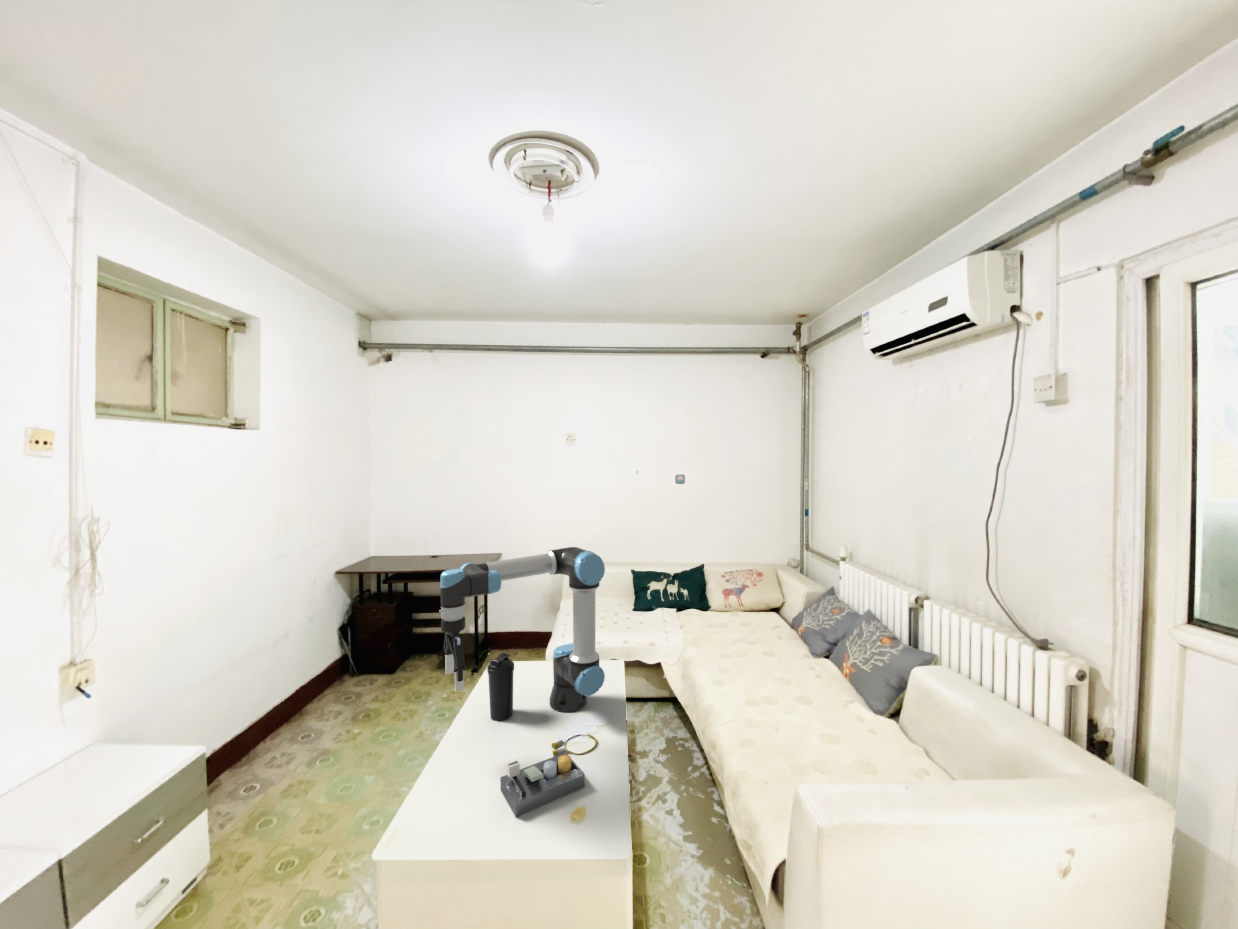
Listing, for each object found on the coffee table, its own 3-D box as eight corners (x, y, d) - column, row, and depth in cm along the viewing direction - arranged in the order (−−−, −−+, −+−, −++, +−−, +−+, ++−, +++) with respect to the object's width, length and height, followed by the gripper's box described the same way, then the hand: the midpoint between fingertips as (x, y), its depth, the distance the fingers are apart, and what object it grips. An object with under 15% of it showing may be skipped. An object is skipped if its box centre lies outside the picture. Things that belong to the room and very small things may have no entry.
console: (565, 764, 157) (565, 748, 157) (584, 787, 146) (584, 770, 146) (500, 790, 145) (500, 773, 145) (515, 817, 134) (515, 799, 134)
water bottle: (520, 711, 189) (519, 654, 189) (503, 725, 180) (502, 664, 179) (499, 706, 193) (498, 650, 193) (482, 718, 184) (481, 660, 184)
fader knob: (516, 769, 146) (516, 758, 146) (519, 774, 144) (519, 763, 144) (506, 773, 144) (506, 762, 144) (509, 778, 142) (509, 767, 142)
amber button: (567, 766, 152) (567, 753, 152) (573, 773, 149) (573, 760, 149) (556, 771, 150) (556, 757, 150) (561, 778, 147) (561, 764, 146)
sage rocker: (534, 769, 147) (534, 765, 148) (543, 777, 142) (543, 773, 142) (523, 773, 145) (523, 770, 146) (532, 782, 140) (531, 778, 140)
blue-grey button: (553, 772, 149) (553, 759, 149) (558, 779, 146) (558, 766, 146) (541, 777, 147) (541, 763, 147) (546, 784, 144) (546, 770, 144)
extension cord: (554, 736, 173) (554, 731, 173) (598, 736, 173) (598, 731, 173) (549, 758, 161) (549, 752, 161) (595, 758, 160) (595, 752, 160)
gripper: (433, 609, 165) (435, 669, 166) (450, 631, 144) (451, 701, 144) (455, 605, 169) (457, 664, 169) (475, 626, 148) (476, 694, 148)
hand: (454, 681), depth 157 cm, fingers open, 13 cm apart
